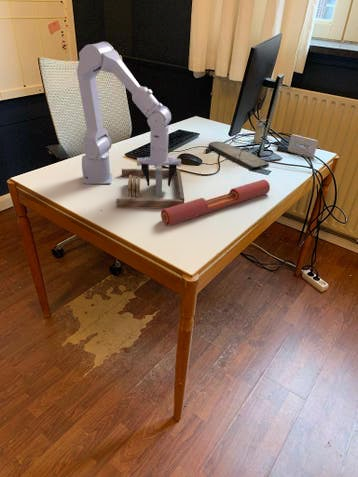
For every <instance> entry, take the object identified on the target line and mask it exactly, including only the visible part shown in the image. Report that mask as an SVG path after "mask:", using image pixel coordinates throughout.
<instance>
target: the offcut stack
mask: <svg viewBox="0 0 358 477" xmlns="http://www.w3.org/2000/svg"><path fill="white" fill-rule="evenodd" d="M127 180H128V182H127V187H126V188H127V198H131V197H132V198H140V191H141V177H136V176H132V175H129V176H128V179H127Z"/></svg>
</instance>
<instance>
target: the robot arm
mask: <svg viewBox="0 0 358 477" xmlns="http://www.w3.org/2000/svg"><path fill="white" fill-rule="evenodd" d="M78 56H79V57H78V58H79V59H78V64H77V68H76V74H77V81H78V86H79V92H80V98H81V104H82V110H83V115H84V116H83V117H84V120H85V126H86V131H85V133H84V135H83V145H82V150H83V153H84V155H82V158H81V170H82V171H81V172H82V178H83V184H88V185H92V184H93V185H94V184H95V185H97V184H98V185H111V184H112V178H113V173H111V168H110V166H111V165H110V154H109V153H110V152H109V151H110V150H111V148H112V140H111V138H110V137H109V133H108V130H107V128H105V127H104V123H103V115H102V110H101V109H102V108H101V103H100V98H99V97H100V96H99V90H98V85H97V84H98V83H97V76H98V75H99V73H100V72H105V73H110V74H113V75H114V76H115V77H116V79H117V80H119V82H121V84H123V86H124V87H125V88H126V89H127V90H128V91H129V92H130V94H131V99H132V101H133V104H135V106H136V107H137V108H138V109H139V110H140V111H141V113H142V114H143V115H144V116H145V117H146V118H147V120H146V121H147V124H148V126H149V128H150V132H149V133H150V137H149V138H150V145H149V146H150V156H148V157H137V158H136V166H137V167H140V166H141V167H140V169H142V172H143V173H144V175H145V177H144V178H145V180H146V185H147V187H150V177H149V169H150V166H155V167H156V166H162V167H163V166H167V167H168V170H169V175H168V177H167V186H168V187H170V186H171V184H172V180H173V178H174V177H173V175H174V174H175V172H176V170H178V168H177V167H180V168H181V167H182V159H181V158H173V157H168V156H169V123H170V122H171V121H172V113H171V111H170V109H169V108H168V107H167V106H165V105H163V104H162V103H161V102H159V101H158V100H157V98H156V97H155V96H154V95H153V91H152V89H150V88H148V87H147V86H142V85H140V84H139V82H138V81H137V80H136V78H135V77H134V75H133V74H132V72H131V71H130V69H129V68H128V67H127V66H126V64H125V63H124V62H123V60H122V59H121V57H120V55H119V53H118V51H117V50H115V49H114V47H113V46H112V45H111V44H110V43H109V42H107V41H100V42H97V43H92V44H86V45H85V46H84V47H83V48H82V49H81V50H80V51H79V52H78Z"/></svg>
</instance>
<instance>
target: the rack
mask: <svg viewBox="0 0 358 477" xmlns="http://www.w3.org/2000/svg"><path fill="white" fill-rule="evenodd" d="M129 175H132V177H133V176H136V178H137V177H140V178H142V177H144V178H145V175H144V173H143V172H142V169H141V168H121V177H129ZM168 175H169V169H162V178H168ZM149 178H156V168H154V169H152V168H149ZM173 178H176V181H177V182H176V183H177V190H178V199H177V198H176V199H175V198H174V199H170V198H169V199H167V198H165V199H164V198H163V199H162V198H159V199H156V198H149V199H148V198H116V200H115V202H116V208H121V209H122V208H123V209H124V208H131V209H132V208H133V209H137V208H138V209H139V208H140V209H141V208H142V209H166V208H169V207H173V206H176V205H179V204H183V203H185V194H184V193H185V192H184V187H183V186H184V185H183V181H182V173H181V169H177V170H176V172H175V174H174V175H173Z"/></svg>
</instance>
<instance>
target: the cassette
mask: <svg viewBox="0 0 358 477" xmlns="http://www.w3.org/2000/svg"><path fill="white" fill-rule="evenodd" d="M318 142H319V141H318V140H317V139H313V138H309V137H306V136H305V137H304V136H302V135H297V134H294V133H293V134H291V135H290V139H289V143H288V148H287V151H288V152H290V153H293V154H297V155H301V156H303V157H307V158H315V154H316V151H317V150H316V149H317V147H318ZM301 144H302V145H301ZM303 145H305V146H303Z"/></svg>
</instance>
